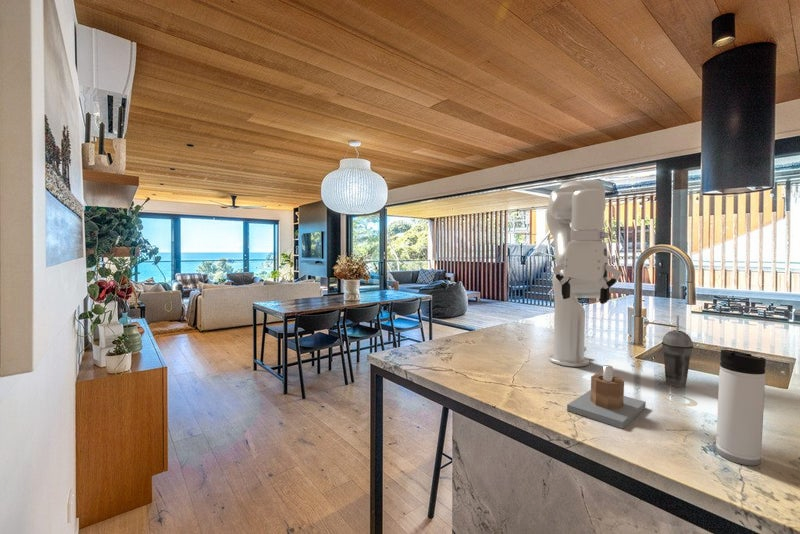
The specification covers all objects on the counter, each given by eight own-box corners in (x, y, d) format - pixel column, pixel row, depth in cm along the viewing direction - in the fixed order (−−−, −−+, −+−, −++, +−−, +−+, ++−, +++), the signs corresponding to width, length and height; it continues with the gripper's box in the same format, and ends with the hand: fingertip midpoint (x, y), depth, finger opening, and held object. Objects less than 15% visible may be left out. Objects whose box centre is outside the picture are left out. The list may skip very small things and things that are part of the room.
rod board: (593, 393, 100) (593, 387, 100) (645, 407, 92) (645, 401, 91) (566, 410, 90) (567, 404, 90) (622, 428, 81) (622, 422, 81)
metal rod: (603, 400, 92) (605, 364, 92) (612, 403, 91) (613, 366, 90) (600, 403, 91) (601, 366, 90) (609, 405, 89) (610, 368, 89)
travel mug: (705, 448, 73) (709, 347, 72) (736, 447, 74) (741, 346, 73) (736, 467, 67) (742, 356, 66) (770, 465, 67) (776, 355, 66)
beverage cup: (693, 384, 107) (696, 314, 106) (690, 391, 102) (693, 318, 101) (662, 378, 112) (664, 311, 111) (657, 385, 107) (660, 315, 106)
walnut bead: (597, 395, 95) (598, 372, 95) (626, 403, 90) (626, 379, 90) (587, 402, 91) (588, 378, 91) (616, 411, 86) (617, 385, 86)
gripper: (627, 236, 96) (624, 303, 97) (560, 236, 108) (558, 295, 110) (617, 237, 91) (614, 307, 92) (548, 237, 103) (546, 298, 105)
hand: (584, 300), depth 101 cm, fingers open, 9 cm apart
